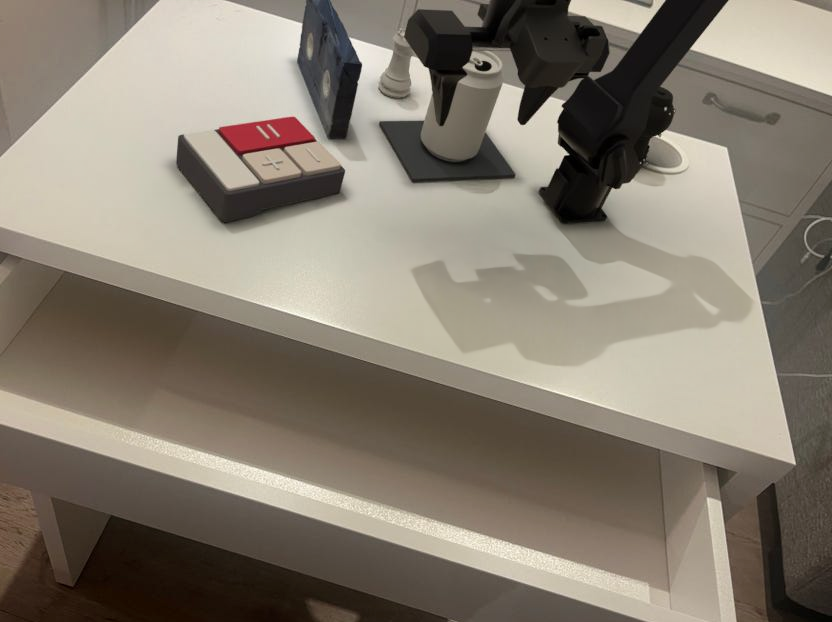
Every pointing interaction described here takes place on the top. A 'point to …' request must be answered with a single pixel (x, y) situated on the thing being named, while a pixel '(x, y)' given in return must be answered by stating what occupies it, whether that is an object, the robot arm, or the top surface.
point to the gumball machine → (655, 122)
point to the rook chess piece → (397, 69)
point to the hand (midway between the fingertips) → (480, 123)
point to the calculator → (257, 166)
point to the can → (466, 110)
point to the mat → (435, 169)
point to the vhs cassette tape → (328, 66)
